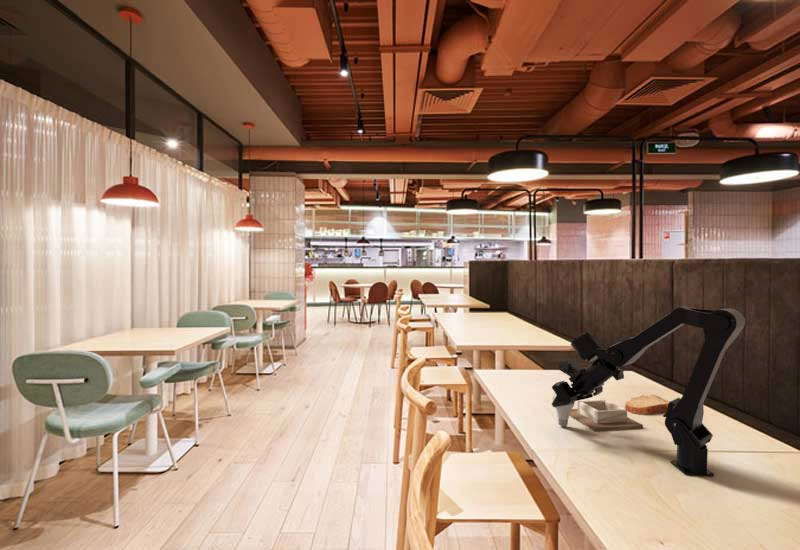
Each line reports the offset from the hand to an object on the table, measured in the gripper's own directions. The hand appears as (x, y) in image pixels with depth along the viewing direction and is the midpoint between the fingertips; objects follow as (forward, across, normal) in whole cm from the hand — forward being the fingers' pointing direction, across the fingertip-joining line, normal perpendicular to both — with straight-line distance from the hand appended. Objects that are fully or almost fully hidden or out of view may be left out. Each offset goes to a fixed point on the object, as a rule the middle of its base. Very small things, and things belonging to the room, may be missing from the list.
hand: (559, 403), depth 129 cm
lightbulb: (+4, 0, +6) cm, 7 cm away
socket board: (+1, -15, +8) cm, 17 cm away
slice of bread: (-2, -41, +12) cm, 43 cm away
